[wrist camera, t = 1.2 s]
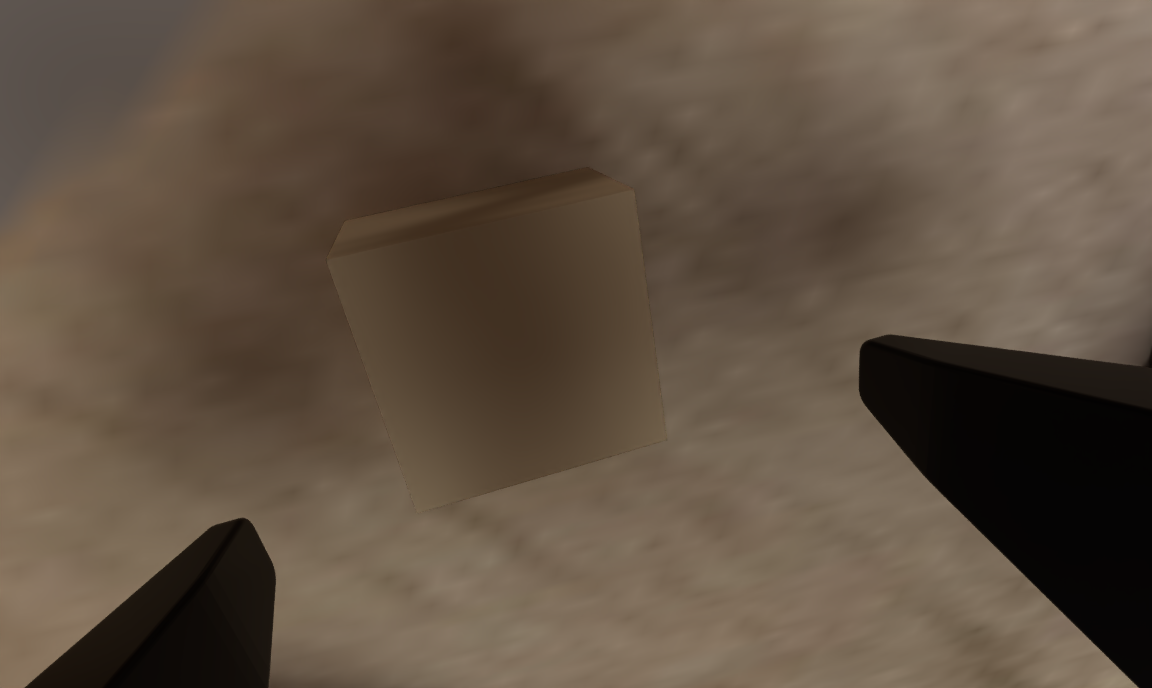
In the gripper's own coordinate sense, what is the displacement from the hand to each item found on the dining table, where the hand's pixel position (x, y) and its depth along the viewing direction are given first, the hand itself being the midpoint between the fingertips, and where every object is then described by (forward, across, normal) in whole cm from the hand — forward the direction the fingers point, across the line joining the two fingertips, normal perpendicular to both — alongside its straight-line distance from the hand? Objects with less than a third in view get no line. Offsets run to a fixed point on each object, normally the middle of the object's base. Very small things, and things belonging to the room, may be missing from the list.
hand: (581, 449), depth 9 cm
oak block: (+6, 0, 0) cm, 6 cm away
